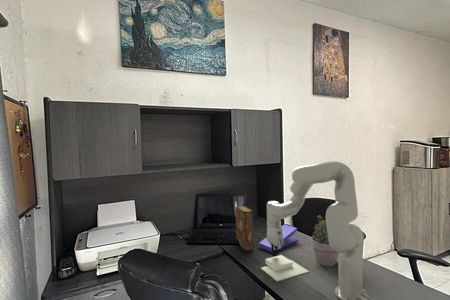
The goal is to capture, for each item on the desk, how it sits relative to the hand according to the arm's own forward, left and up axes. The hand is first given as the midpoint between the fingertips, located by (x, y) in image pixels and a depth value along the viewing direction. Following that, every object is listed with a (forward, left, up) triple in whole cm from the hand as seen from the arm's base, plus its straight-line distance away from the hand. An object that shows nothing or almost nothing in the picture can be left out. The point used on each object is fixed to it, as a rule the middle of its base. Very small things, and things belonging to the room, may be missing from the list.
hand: (274, 255), depth 145 cm
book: (+30, +3, -5) cm, 31 cm away
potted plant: (-13, -26, -5) cm, 29 cm away
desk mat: (-8, 0, -4) cm, 10 cm away
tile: (+1, 0, -3) cm, 3 cm away
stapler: (+21, -18, -5) cm, 28 cm away
